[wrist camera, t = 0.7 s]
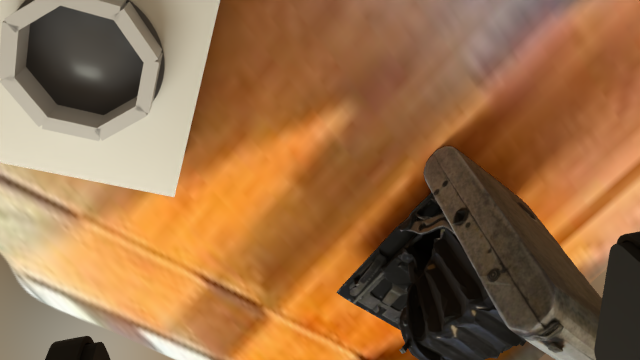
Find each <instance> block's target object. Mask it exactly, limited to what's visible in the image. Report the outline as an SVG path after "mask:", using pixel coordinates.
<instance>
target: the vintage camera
mask: <svg viewBox="0 0 640 360" xmlns="http://www.w3.org/2000/svg"><path fill="white" fill-rule="evenodd" d="M424 178H425V181H426V183H427V185H428V187H429V189H430V190H431V193H430V194H429V195H428V196H427V197H426V198H425V199H424V200H423V201H422V202H421V203H420V204H419V205H418V206H417V207H416V208H415V209H414V210H413V211H412V212H411V214H410V215H409V217H408V218H407V219H406V220H405V221H404V222H402V223H401V224H400V225H399V226H398V227H396V228H395V229H394V231H393V232H392V233H391V234H390V235H389V236H388V237H387V238H386V239H385V240H384V241H383V242H382V243H381V244H380V246H379V247H378V248H377V249H376V250H375V251H374V252H373V253H372V254H371V255H370V257H369V258H368V259H367V260H366V261H365V262H364V263H363V264H362V265H361V266H360V267H359V268H358V269H357V270H356V271H355V273H354V274H353V275H352V276H351V277H350V278H349V279H348V280H347V281H346V282H345V283H344V284H343V286H342V287H341V288H340V289H339V290H338V291H337V293H338V294H339V295H341V296H342V297H344V298H345V299H347V300H349V301H350V302H352V303H354V304H355V305H357V306H359V307H361V308H362V309H364V310H366V311H368V312H369V313H371V314H373V315H375V316H377V317H378V318H380V319H382V320H384V321H385V322H387V323H389V324H391V325H392V326H394V327H396V328H398V329H399V330H401V332H402V336H403V339H404V341H405V344H404V346H403V347H402V349H401V350H399V351H400V352H401V353H402V354H403V353H405V352H406V350H407V348H408V349H409V351H410V352H411V354H412V355H413V356H415V357H416V358H418V359H419V360H485V359H487V358H498V356H499V354H500V353H503V351H506V350H508V349H510V348H511V347H513V346H517V345H519V344H520V345H522V346H523V345H524V344H525V342H526V341H528V342H529V343H531V344H533V345H534V346H536V347H537V348H539V349H540V350H542V351H543V352H545V353H547V354H548V355H550V356H551V357H553V358H554V359H556V360H596V357H595V353H594V347H595V341H596V335H597V328H598V322H599V316H600V310H601V304H602V298H601V297H600V296H599V294H598V293H597V292H596V291H595V290H594V288H593V287H592V286H591V285H590V284H589V282H588V281H587V279H586V278H585V277H584V275H583V274H582V273H581V272H580V271H579V270H578V269H577V267H576V266H575V265H574V263H573V262H572V261H571V260H570V258H569V257H568V256H567V255H566V254H565V252H564V251H563V249H562V248H561V246H560V245H559V244H558V242H557V241H556V240H555V239H554V238H553V236H552V235H551V234H550V233H549V231H548V230H547V229H546V228H545V226H544V225H543V224H542V223H541V221H540V220H539V219H538V218H537V216H536V215H535V214H534V213H533V211H532V210H531V209H530V208H529V206H528V205H527V204H526V203H525V202H523V201H522V200H521V199H520V198H519V197H518V196H517V195H515V194H514V193H513V192H511V191H510V190H509V189H508V188H506V187H505V186H504V185H503V184H501V183H500V182H499V181H498V180H496V179H495V178H494V177H492V176H491V175H490V174H489V173H487V172H486V171H485V170H483V169H482V168H481V167H480V166H478V165H477V164H476V163H474V162H473V161H472V160H471V159H469V158H468V157H467V156H465V155H464V154H463V153H461V152H460V151H459V150H457V149H455V148H454V147H452V146H445V147H442V148H440V149H438V150H436V151H435V152H434V153H433V155H432V156H431V157H430V158H429V160H428V161H427V162H426V165H425V169H424Z"/></svg>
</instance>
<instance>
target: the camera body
mask: <svg viewBox="0 0 640 360" xmlns="http://www.w3.org/2000/svg"><path fill="white" fill-rule="evenodd" d="M219 3H220V0H0V163H4V164H9V165H14V166H19V167H25V168H30V169H35V170H40V171H45V172H50V173H55V174H60V175H65V176H70V177H75V178H80V179H85V180H90V181H95V182H100V183H105V184H110V185H115V186H120V187H125V188H131V189H136V190H141V191H146V192H151V193H156V194H161V195H166V196H171V197H174V196H175V192H176V187H177V183H178V179H179V175H180V170H181V166H182V162H183V157H184V153H185V149H186V145H187V140H188V136H189V132H190V127H191V123H192V119H193V115H194V110H195V106H196V102H197V97H198V93H199V89H200V85H201V80H202V76H203V72H204V67H205V63H206V59H207V55H208V50H209V46H210V42H211V37H212V33H213V29H214V25H215V20H216V16H217V12H218V7H219Z"/></svg>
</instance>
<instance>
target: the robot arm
mask: <svg viewBox="0 0 640 360" xmlns="http://www.w3.org/2000/svg"><path fill="white" fill-rule="evenodd" d="M594 353H595V357H596V360H640V232H635V233H630V234H624V235H622V236H620V238H619V239H618V241H617V244H615V245H613V246H612V247H611V250H610V254H609V260H608V267H607V273H606V279H605V285H604V291H603V297H602V304H601V310H600V316H599V322H598V328H597V335H596V341H595V347H594ZM45 360H110V358H109V355H108V352H107V350H106V348H105V346H104V344H103V343H102V342H97V343H94V342H93V340H92V338H91V337H89V336H84V337H78V338H73V339H67V340H63V341H57V342H54V343H53V344H52V345H51V347H50V349H49V351H48V354H47V356H46V359H45Z"/></svg>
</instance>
